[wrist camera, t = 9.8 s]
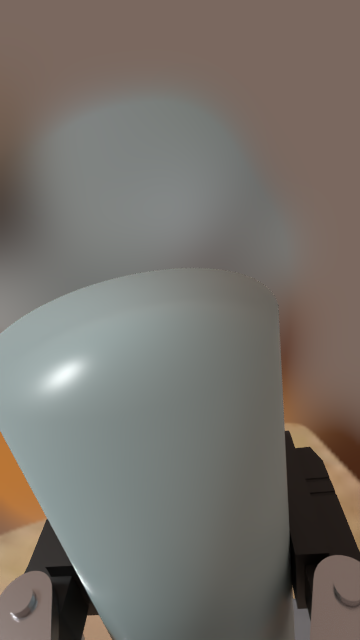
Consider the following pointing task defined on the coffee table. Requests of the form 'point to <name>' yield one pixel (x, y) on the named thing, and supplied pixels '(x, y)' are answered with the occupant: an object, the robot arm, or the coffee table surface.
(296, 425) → the coffee table surface
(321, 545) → the robot arm
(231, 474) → the peg
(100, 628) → the coffee table surface
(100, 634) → the coffee table surface
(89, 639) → the coffee table surface
